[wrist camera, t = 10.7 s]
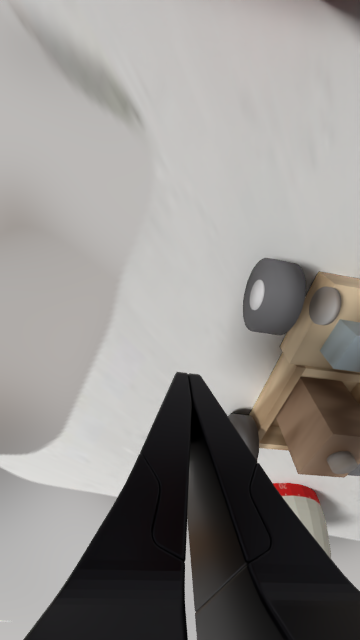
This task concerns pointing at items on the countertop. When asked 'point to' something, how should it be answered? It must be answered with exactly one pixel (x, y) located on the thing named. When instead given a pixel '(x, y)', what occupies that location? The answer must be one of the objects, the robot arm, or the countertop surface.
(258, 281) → the wheel
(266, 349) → the countertop surface
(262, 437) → the chassis
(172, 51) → the countertop surface
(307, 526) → the kitchen timer
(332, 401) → the block
